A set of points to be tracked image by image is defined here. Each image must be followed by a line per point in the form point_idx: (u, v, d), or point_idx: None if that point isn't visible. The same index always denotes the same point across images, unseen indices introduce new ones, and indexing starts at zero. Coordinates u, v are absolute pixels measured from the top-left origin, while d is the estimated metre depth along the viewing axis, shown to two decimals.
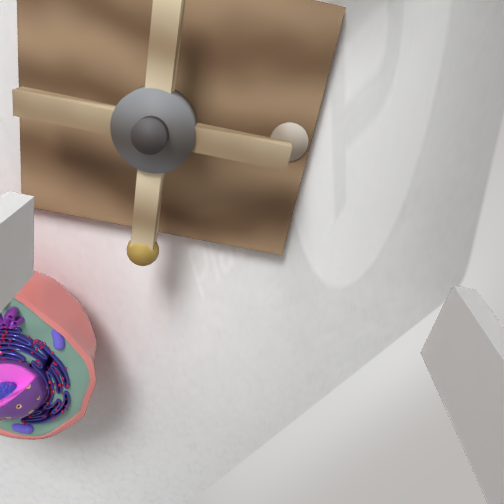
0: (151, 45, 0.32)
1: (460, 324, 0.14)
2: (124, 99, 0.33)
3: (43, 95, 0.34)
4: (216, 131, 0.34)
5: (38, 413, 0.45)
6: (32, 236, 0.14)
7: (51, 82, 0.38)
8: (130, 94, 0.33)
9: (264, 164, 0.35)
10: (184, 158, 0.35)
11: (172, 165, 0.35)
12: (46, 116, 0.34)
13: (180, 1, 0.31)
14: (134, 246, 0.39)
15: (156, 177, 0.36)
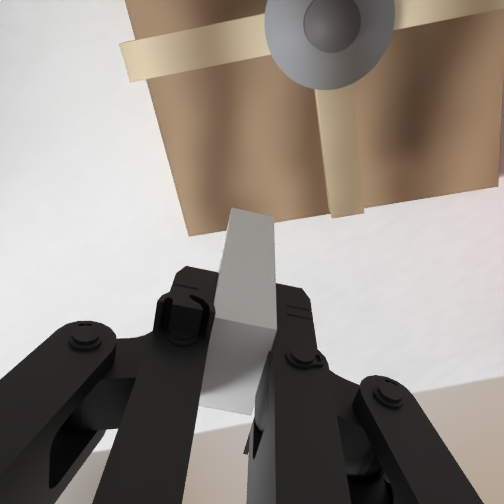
0: (214, 61, 0.23)
1: None
2: (294, 78, 0.23)
3: (327, 182, 0.26)
4: None
5: None
6: None
7: (322, 178, 0.31)
8: (285, 71, 0.23)
9: None
10: None
11: None
12: (353, 174, 0.26)
13: (147, 39, 0.23)
14: None
15: None
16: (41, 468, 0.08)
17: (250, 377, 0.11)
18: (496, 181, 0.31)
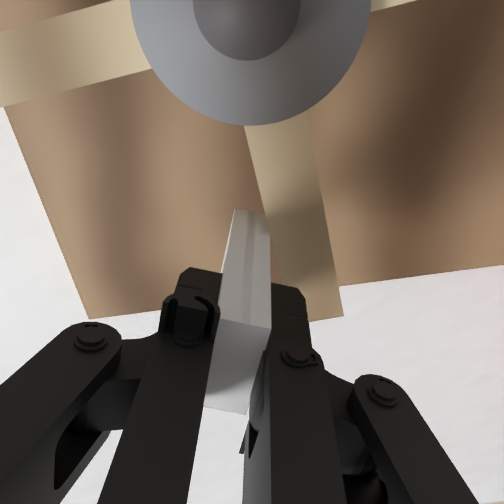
0: (58, 85, 0.13)
1: None
2: (199, 107, 0.13)
3: None
4: None
5: None
6: None
7: None
8: (181, 96, 0.13)
9: None
10: None
11: None
12: (320, 258, 0.15)
13: None
14: None
15: None
16: (46, 469, 0.08)
17: (245, 376, 0.11)
18: None
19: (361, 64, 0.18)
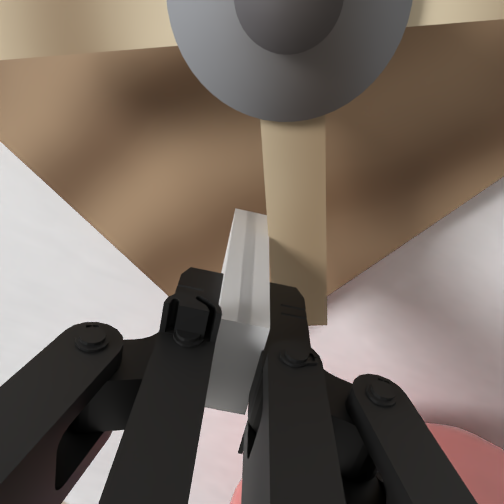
0: (76, 46, 0.13)
1: None
2: (219, 93, 0.13)
3: (271, 271, 0.16)
4: None
5: None
6: None
7: (98, 157, 0.20)
8: (202, 79, 0.13)
9: None
10: None
11: None
12: (313, 264, 0.15)
13: None
14: None
15: None
16: (47, 469, 0.08)
17: (243, 376, 0.11)
18: None
19: None
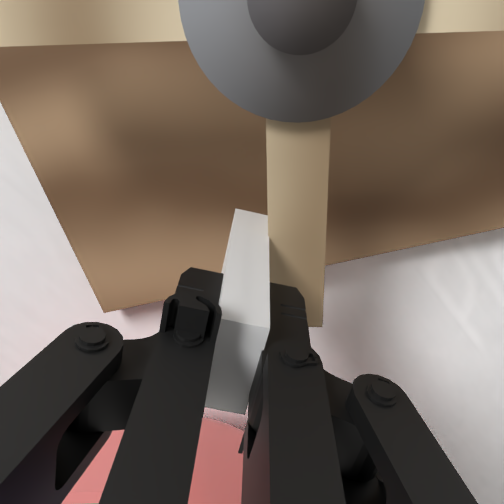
0: (84, 36, 0.13)
1: None
2: (226, 90, 0.13)
3: (269, 271, 0.16)
4: None
5: None
6: None
7: (47, 56, 0.18)
8: (210, 76, 0.13)
9: None
10: None
11: None
12: (311, 266, 0.15)
13: None
14: None
15: None
16: (47, 469, 0.08)
17: (243, 376, 0.11)
18: (109, 309, 0.23)
19: (250, 119, 0.19)
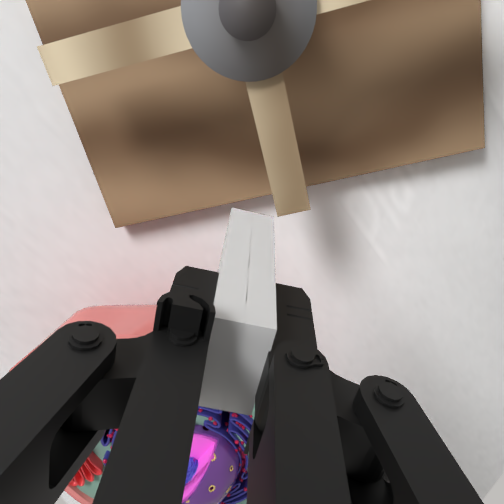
0: (135, 59, 0.22)
1: None
2: (219, 70, 0.22)
3: (269, 179, 0.25)
4: None
5: (237, 487, 0.33)
6: None
7: None
8: (209, 64, 0.22)
9: None
10: None
11: None
12: (294, 169, 0.25)
13: (64, 40, 0.22)
14: None
15: None
16: (41, 468, 0.08)
17: (250, 377, 0.11)
18: (119, 225, 0.32)
19: (222, 87, 0.28)
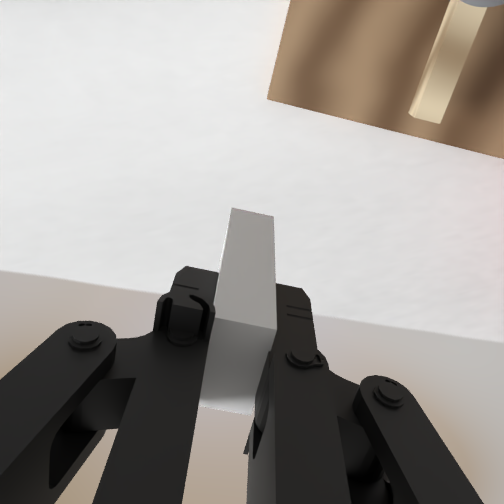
0: (464, 55, 0.30)
1: None
2: None
3: None
4: None
5: None
6: None
7: (399, 96, 0.36)
8: None
9: None
10: None
11: None
12: None
13: (423, 96, 0.31)
14: None
15: None
16: (41, 468, 0.08)
17: (250, 377, 0.11)
18: None
19: (492, 13, 0.34)
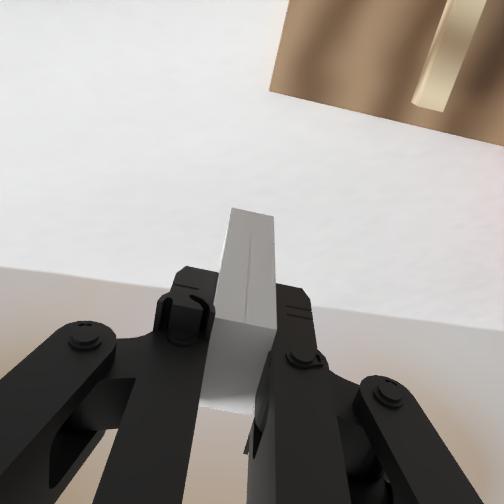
0: (467, 42, 0.30)
1: None
2: None
3: None
4: None
5: None
6: None
7: (401, 85, 0.36)
8: None
9: None
10: None
11: None
12: None
13: (425, 85, 0.31)
14: None
15: None
16: (41, 468, 0.08)
17: (250, 377, 0.11)
18: None
19: (493, 0, 0.34)
